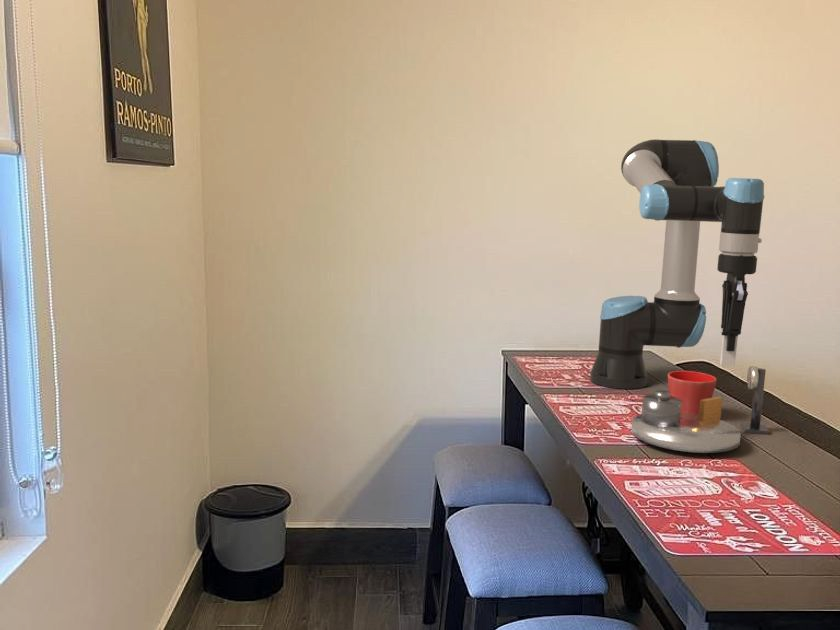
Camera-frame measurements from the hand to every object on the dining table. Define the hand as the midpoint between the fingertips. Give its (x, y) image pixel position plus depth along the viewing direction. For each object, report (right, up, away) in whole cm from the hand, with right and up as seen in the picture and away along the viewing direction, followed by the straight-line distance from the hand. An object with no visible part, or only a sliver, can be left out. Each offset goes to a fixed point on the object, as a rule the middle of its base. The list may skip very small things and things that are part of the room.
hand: (727, 365), depth 176 cm
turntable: (-9, -15, +1) cm, 17 cm away
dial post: (+10, -15, +10) cm, 21 cm away
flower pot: (-2, -13, +20) cm, 24 cm away
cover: (-13, -12, +3) cm, 18 cm away
